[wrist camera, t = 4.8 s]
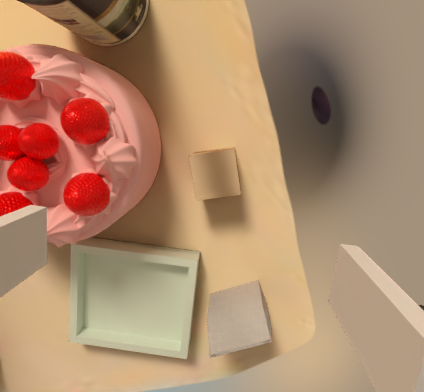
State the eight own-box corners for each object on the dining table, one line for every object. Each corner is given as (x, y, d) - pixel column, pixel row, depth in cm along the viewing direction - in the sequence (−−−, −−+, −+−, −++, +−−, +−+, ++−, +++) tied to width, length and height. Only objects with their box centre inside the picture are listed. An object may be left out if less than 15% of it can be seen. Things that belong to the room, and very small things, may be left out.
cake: (190, 177, 41) (168, 203, 27) (62, 245, 44) (-17, 300, 30) (109, 29, 38) (36, -26, 24) (-22, 114, 41) (-153, 108, 27)
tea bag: (210, 293, 44) (203, 341, 34) (258, 279, 43) (265, 324, 33) (219, 317, 45) (215, 370, 35) (266, 304, 44) (276, 355, 34)
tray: (79, 328, 47) (68, 342, 44) (81, 236, 44) (70, 243, 41) (190, 344, 46) (186, 359, 43) (200, 251, 43) (197, 260, 40)
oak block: (200, 191, 41) (196, 200, 36) (194, 152, 40) (188, 156, 35) (240, 186, 41) (240, 194, 36) (234, 146, 40) (234, 149, 35)
